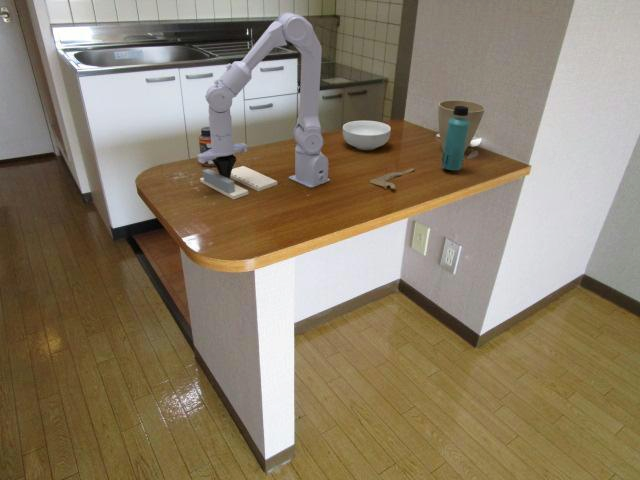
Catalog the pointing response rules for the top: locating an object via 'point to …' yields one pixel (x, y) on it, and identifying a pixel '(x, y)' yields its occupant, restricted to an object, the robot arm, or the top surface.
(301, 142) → the robot arm
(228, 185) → the stub
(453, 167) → the beverage bottle
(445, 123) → the plant pot
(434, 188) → the top surface
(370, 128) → the cereal bowl
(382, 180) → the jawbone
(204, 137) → the supplement bottle
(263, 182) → the ticket
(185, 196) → the top surface
